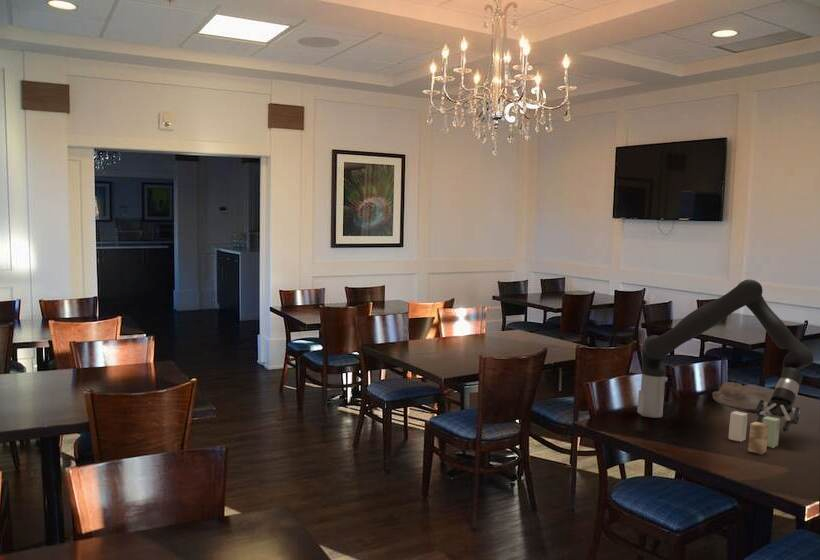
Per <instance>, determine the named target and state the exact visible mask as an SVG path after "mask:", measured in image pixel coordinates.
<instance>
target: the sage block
mask: <svg viewBox="0 0 820 560" xmlns="http://www.w3.org/2000/svg"><path fill="white" fill-rule="evenodd" d="M762 423H764V424H768V425H769V426H768V437H767V447H768V448H772V449H774V448H775V447H777V446H779V439H780V428H781V426H780V425H781V418H777V417H772V416H766V417H764V418H763V421H762Z"/></svg>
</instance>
